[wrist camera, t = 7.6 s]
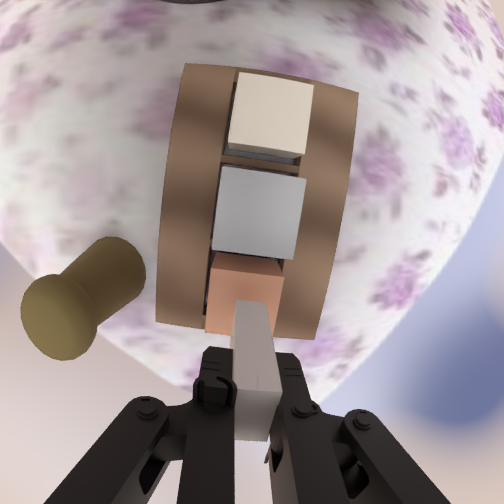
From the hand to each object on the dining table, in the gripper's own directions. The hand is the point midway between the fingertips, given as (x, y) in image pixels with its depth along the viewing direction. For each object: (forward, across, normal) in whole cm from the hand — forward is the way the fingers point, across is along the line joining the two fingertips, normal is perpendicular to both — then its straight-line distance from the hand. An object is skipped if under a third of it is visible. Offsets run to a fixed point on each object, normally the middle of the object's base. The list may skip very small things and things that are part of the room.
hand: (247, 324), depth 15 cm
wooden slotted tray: (+9, 0, +5) cm, 10 cm away
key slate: (+6, 0, +5) cm, 8 cm away
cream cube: (+8, 0, +11) cm, 14 cm away
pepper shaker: (+9, -11, -2) cm, 14 cm away
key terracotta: (+7, 0, -1) cm, 7 cm away
